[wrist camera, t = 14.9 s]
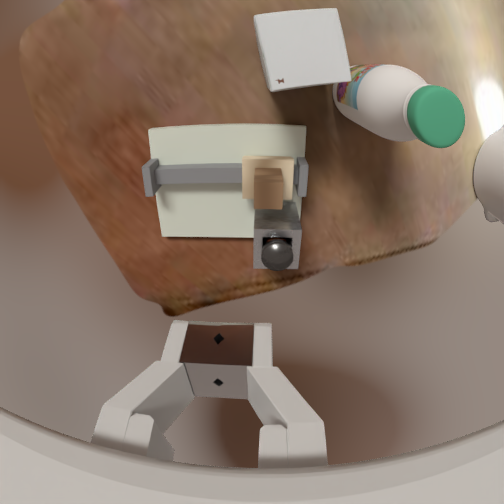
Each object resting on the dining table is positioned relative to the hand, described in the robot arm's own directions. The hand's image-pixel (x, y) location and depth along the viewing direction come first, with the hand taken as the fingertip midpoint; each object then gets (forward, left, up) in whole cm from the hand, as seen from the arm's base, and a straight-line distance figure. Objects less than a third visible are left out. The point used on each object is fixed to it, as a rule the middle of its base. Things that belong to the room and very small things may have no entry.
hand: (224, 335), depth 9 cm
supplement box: (-4, -10, -33) cm, 35 cm away
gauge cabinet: (-3, +12, -32) cm, 35 cm away
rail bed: (+4, +7, -32) cm, 33 cm away
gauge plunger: (-3, +12, -30) cm, 32 cm away
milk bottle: (-13, -6, -33) cm, 36 cm away
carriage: (-2, +5, -31) cm, 31 cm away
